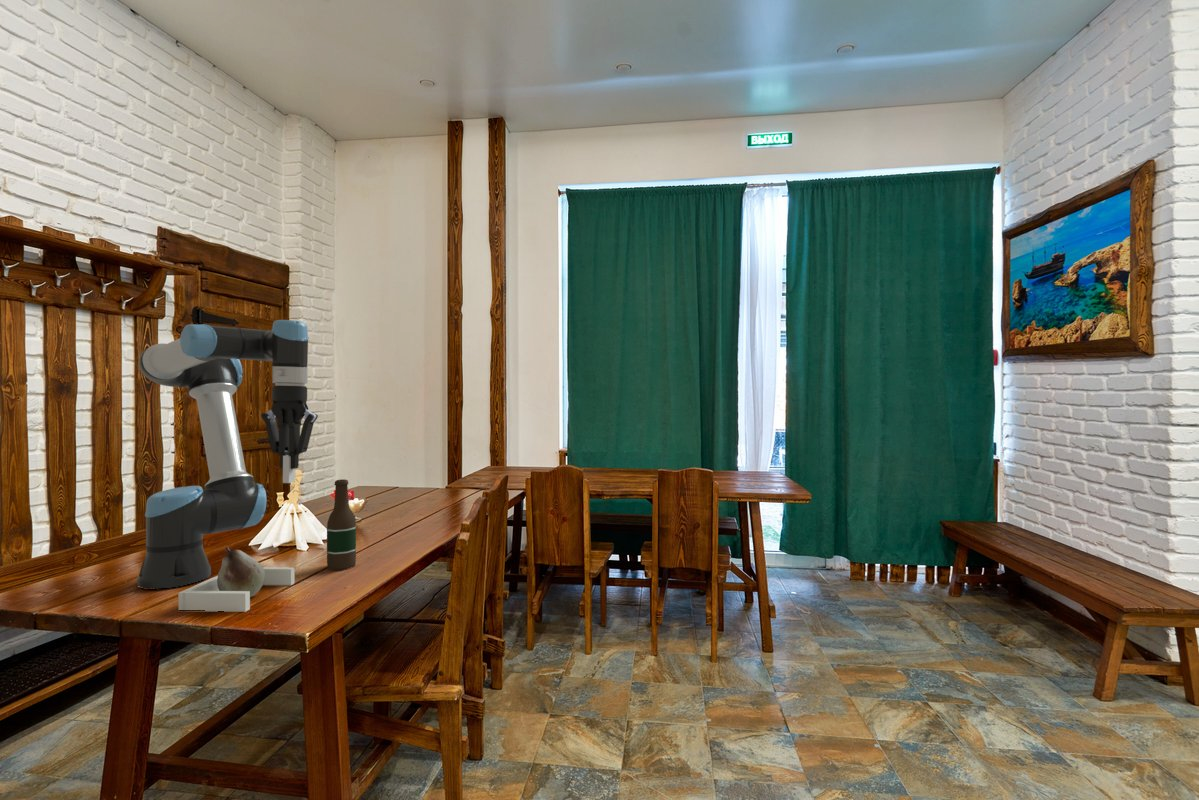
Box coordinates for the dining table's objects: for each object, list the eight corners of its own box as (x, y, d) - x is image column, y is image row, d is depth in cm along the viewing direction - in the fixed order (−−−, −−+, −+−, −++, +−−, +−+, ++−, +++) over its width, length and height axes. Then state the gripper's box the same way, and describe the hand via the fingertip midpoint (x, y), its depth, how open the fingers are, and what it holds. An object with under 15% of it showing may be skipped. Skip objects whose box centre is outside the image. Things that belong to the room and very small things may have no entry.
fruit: (213, 596, 135) (213, 545, 135) (258, 587, 141) (258, 538, 141) (223, 607, 128) (222, 554, 127) (270, 597, 134) (270, 546, 134)
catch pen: (178, 611, 125) (178, 592, 125) (236, 582, 144) (236, 567, 144) (245, 611, 125) (245, 593, 125) (294, 583, 144) (294, 567, 144)
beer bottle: (349, 570, 154) (348, 482, 154) (320, 570, 155) (320, 482, 154) (361, 562, 162) (361, 478, 162) (334, 562, 162) (334, 478, 162)
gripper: (253, 384, 135) (252, 483, 135) (307, 385, 134) (306, 485, 135) (273, 384, 142) (272, 478, 143) (324, 385, 141) (323, 480, 142)
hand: (289, 481), depth 139 cm, fingers closed
